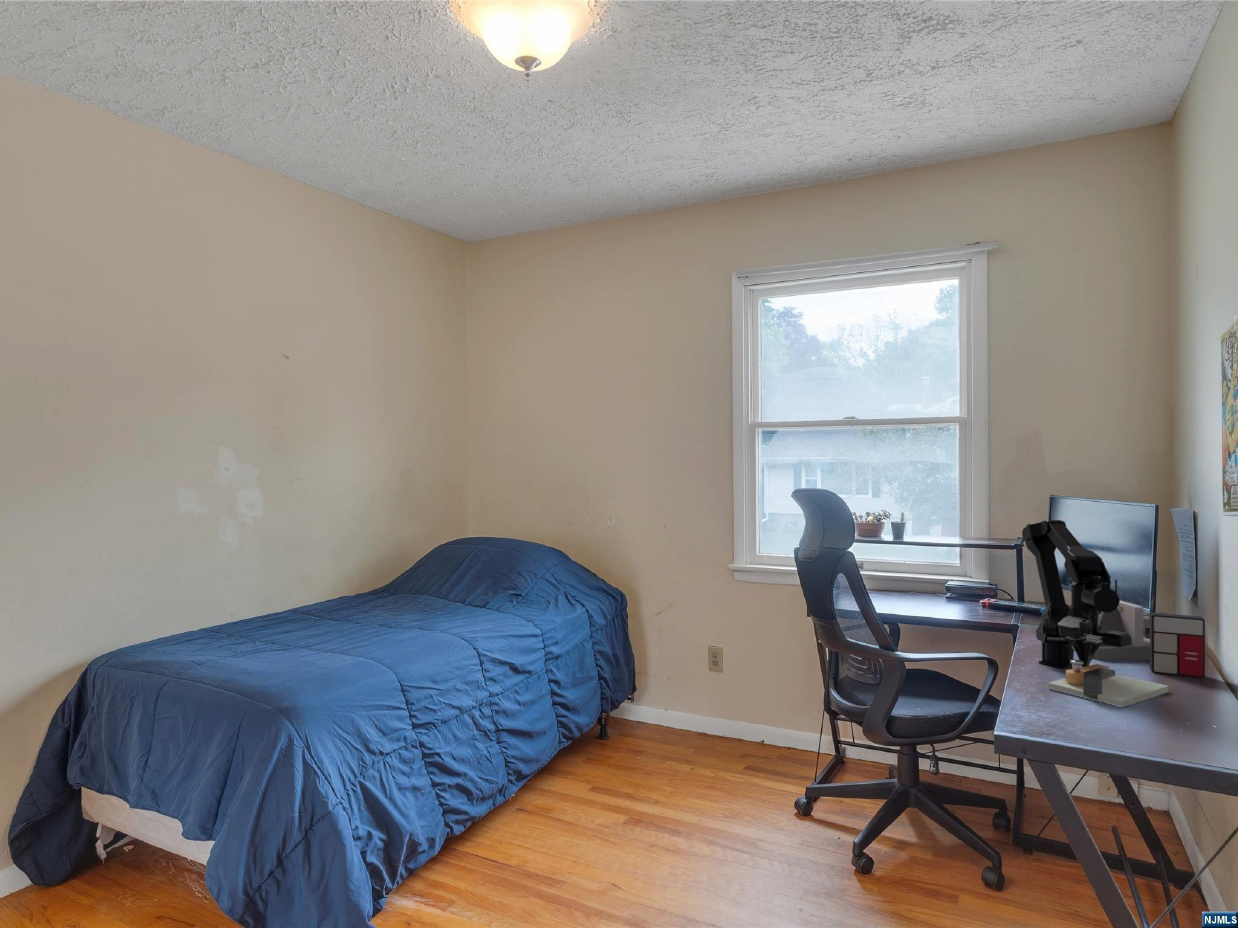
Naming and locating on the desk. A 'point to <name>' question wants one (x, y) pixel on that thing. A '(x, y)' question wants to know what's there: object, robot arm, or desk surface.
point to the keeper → (1092, 678)
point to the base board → (1116, 690)
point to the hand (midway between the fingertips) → (1084, 667)
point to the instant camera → (1129, 622)
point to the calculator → (1177, 645)
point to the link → (1081, 674)
